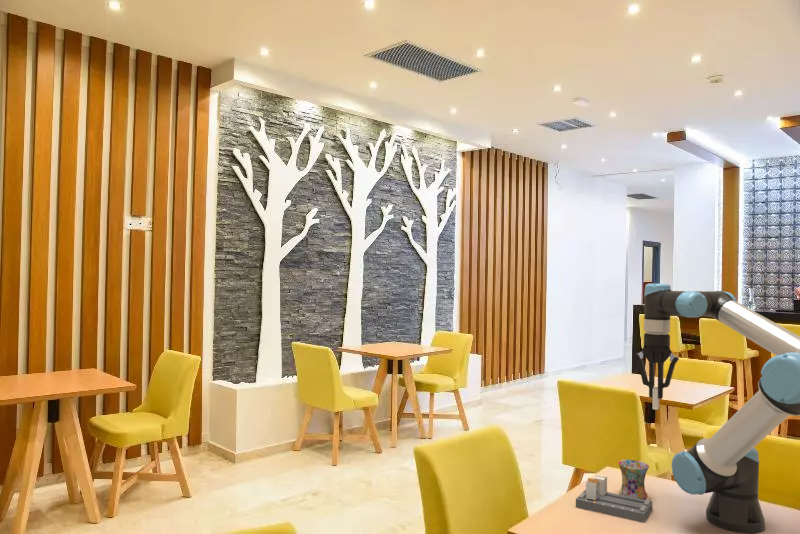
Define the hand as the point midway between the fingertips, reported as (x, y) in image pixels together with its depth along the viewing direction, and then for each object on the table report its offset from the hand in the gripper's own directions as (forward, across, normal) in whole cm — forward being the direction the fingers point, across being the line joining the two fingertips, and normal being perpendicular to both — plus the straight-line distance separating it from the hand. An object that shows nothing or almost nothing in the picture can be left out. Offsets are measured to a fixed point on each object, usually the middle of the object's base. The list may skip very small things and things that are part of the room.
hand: (655, 408), depth 190 cm
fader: (+28, +16, +11) cm, 34 cm away
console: (+30, +10, +9) cm, 33 cm away
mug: (+31, +8, -6) cm, 32 cm away
